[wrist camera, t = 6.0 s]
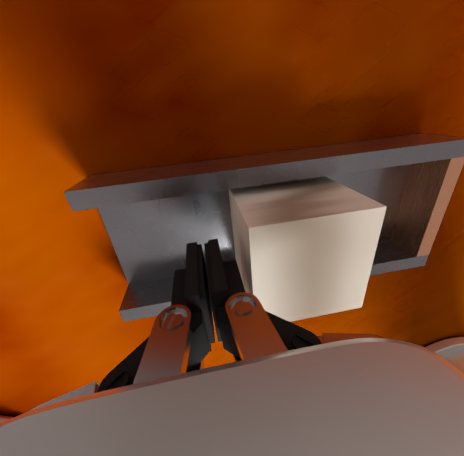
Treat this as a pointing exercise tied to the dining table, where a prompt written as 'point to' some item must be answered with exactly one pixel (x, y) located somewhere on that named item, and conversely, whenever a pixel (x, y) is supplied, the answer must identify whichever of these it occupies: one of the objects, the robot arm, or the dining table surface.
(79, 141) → the dining table surface
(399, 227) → the grey shallow tray
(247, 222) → the block
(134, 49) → the dining table surface
